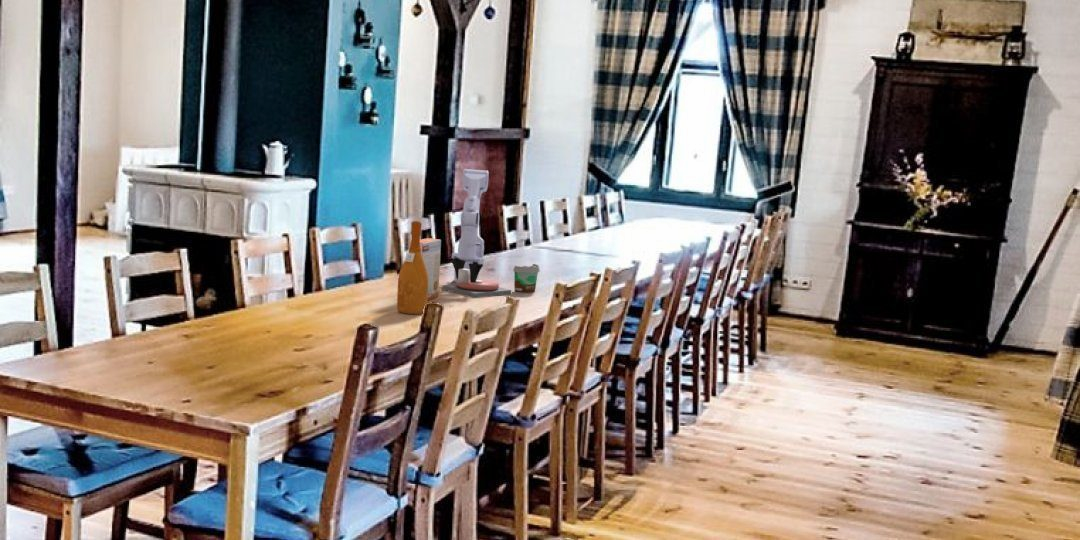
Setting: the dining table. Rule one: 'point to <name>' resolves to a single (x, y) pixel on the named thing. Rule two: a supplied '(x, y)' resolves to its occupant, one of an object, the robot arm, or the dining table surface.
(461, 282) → the handwheel
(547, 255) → the dining table surface
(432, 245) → the cracker box
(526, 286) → the food container
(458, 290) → the base plate
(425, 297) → the wine bottle
